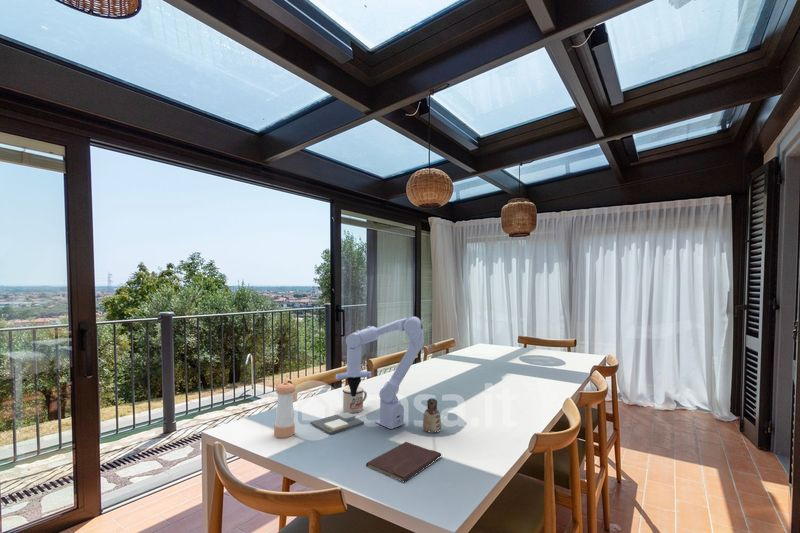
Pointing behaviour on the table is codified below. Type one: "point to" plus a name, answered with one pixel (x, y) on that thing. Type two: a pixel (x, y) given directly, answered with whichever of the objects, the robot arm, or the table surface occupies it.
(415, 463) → the notebook
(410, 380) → the table surface
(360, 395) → the teacup with lid
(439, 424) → the figurine
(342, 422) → the tile
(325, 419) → the mat
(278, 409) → the pepper shaker
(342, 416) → the slate tile
